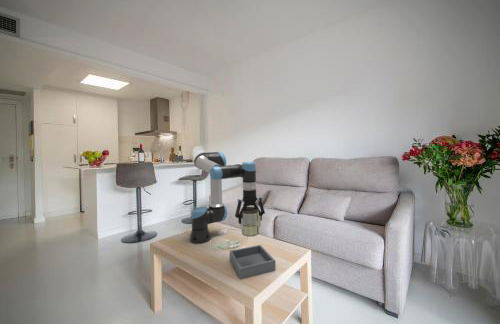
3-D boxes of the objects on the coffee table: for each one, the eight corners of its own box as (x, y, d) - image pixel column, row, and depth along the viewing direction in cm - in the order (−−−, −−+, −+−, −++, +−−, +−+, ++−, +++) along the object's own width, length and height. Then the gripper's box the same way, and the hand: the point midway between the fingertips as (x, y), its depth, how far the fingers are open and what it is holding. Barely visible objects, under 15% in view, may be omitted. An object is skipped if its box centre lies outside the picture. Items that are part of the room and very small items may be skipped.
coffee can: (239, 231, 124) (238, 207, 123) (255, 228, 127) (255, 205, 126) (244, 238, 114) (244, 212, 113) (262, 235, 118) (261, 210, 117)
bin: (229, 259, 128) (229, 250, 128) (260, 253, 135) (260, 244, 135) (240, 279, 109) (239, 268, 109) (275, 270, 116) (275, 260, 116)
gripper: (231, 192, 112) (233, 233, 113) (270, 188, 120) (271, 226, 121) (228, 189, 119) (229, 228, 120) (264, 186, 127) (265, 222, 128)
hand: (250, 227), depth 121 cm, fingers closed on coffee can, 10 cm apart
